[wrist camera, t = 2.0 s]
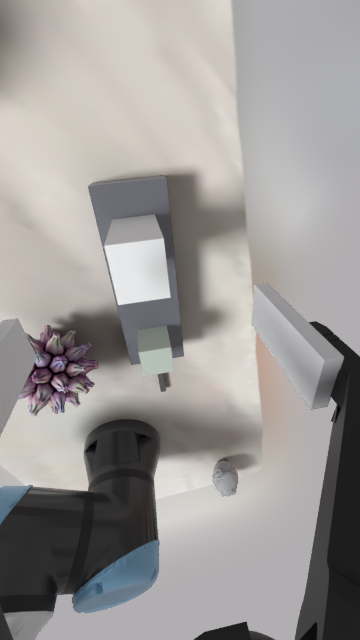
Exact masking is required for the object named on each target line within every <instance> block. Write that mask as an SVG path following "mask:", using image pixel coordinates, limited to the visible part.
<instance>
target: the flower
mask: <svg viewBox="0 0 360 640" xmlns="http://www.w3.org/2000/svg"><path fill="white" fill-rule="evenodd" d="M75 333H76V331H75V330H71V331H70V332H69V331H68V332H67V334H66V335H65V336H63V337H61V338H60V334H59V333H57V332H56V333H53V332H52V331H51V328H50V326H49V325H47V326H45V331H44V333H42V334H40V337H41V338H40V341H39V340H36V339H34V338H32V337H31V336H30V335H29V334H26V333H25V334H26V336H27V338H28V340H29V342H30V344H31V346H32V348H33V350H34V352H35V354H36V356H37V359H36V361H35V363H34V366H33V368H32V370H31V372H30V374H29V376H28V378H27V380H26V383H25V385H24V387H23V389H22V391H21V393H20V395H19V397H18V399H21V398H26V397H28V396H29V395H30V397H29V406H28V409H30V412H29V415H33V416H36V415H37V413H38V411H39V410H41V409H42V408H43V407H44V406H46V405H47V404H49V406H50V407H51V408H52V410H53V414H55V413H56V414H58V410H59V412H60V413H61V412H64V404H65V401H67V402H70V403H72V404H73V405H74V406H75V407H77V406H78V405H80V402H79V400H78V393H80V392H82V393H85V394H87V393H88V392H89V390H90V389H89V388H88V387H87V386H89V387H93V385H94V383H93V382H91V381H90V380H89V379H88V377H87V376H86V374H87V373H88V372H90V371H91V370H93V369H96V368H98V365H97V364H98V363H96V361H95V360H87V359H85V358H82V357H84V356H85V354H86V353H87V351H88V349H89V348H90V347H91V346H92V344H91V343H88V344H82V345H79V346H75V347H74V343H75V341H74V336H75Z"/></svg>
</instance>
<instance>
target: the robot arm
mask: <svg viewBox="0 0 360 640" xmlns="http://www.w3.org/2000/svg"><path fill="white" fill-rule="evenodd" d="M252 326H253V327H254V329H255V330H256V332H257V333H258V334H259V336H260V337H261V339H262V340H263V342H264V343H265V344H266V346H267V347H268V349H269V350H270V352H271V353H272V355H273V356H274V357H275V359H276V360H277V362H278V363H279V365H280V366H281V368H282V369H283V371H284V372H285V374H286V375H287V376H288V378H289V379H290V381H291V382H292V383H293V385H294V386H295V388H296V389H297V391H298V392H299V394H300V395H301V397H302V398H303V399H304V401H305V402H306V404H307V405H308V407H309V408H310V410H312V409H318V408H323V407H327V406H328V404H329V401H330V398H331V397H332V398H333V400H334V401H335V402H336V403H337V406H336V409H335V411H334V414H333V417H332V420H331V421H332V422H333V427H332V432H331V439H330V445H329V451H328V457H327V463H326V469H325V475H324V481H323V487H322V494H321V499H320V506H319V512H318V518H317V525H316V530H315V537H314V543H313V549H312V554H311V560H310V567H309V573H308V579H307V585H306V591H305V596H304V600H303V603H302V607H301V610H300V615H299V619H298V624H297V630H296V636H295V640H360V357H359V356H358V355H357V354H356V353H355V352H354V351H353V350H352V349H351V348H350V347H348V346H347V345H346V344H345V343H344V342H343V341H342V340H340V338H338V337H337V336H336V335H334V333H333V332H332V331H331V330H330V329H328V328H327V327H326V326H324V325H322V324H320V323H318V322H316V321H315V322H307V320H305V319H304V318H303V317H302V316H301V315H300V314H299V313H298V312H297V311H296V310H295V309H294V308H293V307H292V306H291V305H290V304H289V303H288V302H287V301H286V300H285V299H284V298H283V297H282V296H281V295H280V294H279V293H278V292H277V291H275V290H274V289H273V288H272V287H271V286H270V285H269V284H268V283H262V284H256V285H255V287H254V300H253V313H252ZM36 359H37V356H36V354H35V352H34V350H33V348H32V346H31V344H30V342H29V340H28V338H27V336H26V334H25V332H24V330H23V328H22V326H21V324H20V322H19V320H18V318H17V319H10V320H3V321H2V322H1V324H0V436H1V434H2V432H3V429H4V427H5V425H6V423H7V421H8V419H9V417H10V415H11V412H12V410H13V408H14V406H15V404H16V402H17V400H18V397H19V395H20V393H21V391H22V389H23V387H24V385H25V383H26V380H27V378H28V376H29V374H30V372H31V370H32V368H33V366H34V363H35V361H36ZM159 454H160V439H159V435H158V433H157V431H156V430H155V429H154V428H153V427H151V426H150V425H148V424H146V423H143V422H140V421H134V420H119V421H113V422H109V423H106V424H104V425H101V426H99V427H98V428H96V429H95V430H93V431H92V432H91V433H90V434H89V436H88V437H87V439H86V442H85V448H84V461H85V466H86V471H87V476H88V481H89V488H88V491H77V490H65V489H53V488H41V487H33V485H28V486H4V487H1V488H0V640H35V638H36V637H37V635H38V633H39V632H40V631H41V630H42V628H43V627H44V626H45V625H46V624H47V622H48V621H49V620H50V619H51V618H52V616H53V612H54V608H55V603H56V597H57V595H62V594H73V595H74V596H73V597H72V603H73V608H74V610H75V611H76V612H78V613H81V612H84V613H90V612H96V611H100V610H104V609H108V608H111V607H114V606H117V605H119V604H122V603H125V602H127V601H129V600H131V599H134V598H136V597H137V596H139V595H141V594H142V593H144V592H145V591H147V590H148V589H149V588H150V587H151V586H152V585H153V583H154V582H155V580H156V579H157V576H158V572H159V540H158V531H157V530H158V529H157V517H156V502H155V489H154V475H155V471H156V467H157V463H158V458H159ZM194 640H274V639H273V638H271V637H269V636H267V635H264V634H261V633H258V632H254V631H249V630H248V626H247V622H243V623H239V624H235V625H231V626H227V627H223V628H219V629H215V630H211V631H207V632H204V633H203V634H201V635H200V636H198V637H197V638H195V639H194Z"/></svg>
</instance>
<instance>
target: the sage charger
mask: <svg viewBox="0 0 360 640" xmlns="http://www.w3.org/2000/svg"><path fill="white" fill-rule="evenodd" d="M138 351H139V357H140V362H141V366H142V371H143V376H149V375H155V374H161V373H167V372H173V371H174V367H173V359H172V351H171V345H170V340H169V335H168V330H167V325H166V326H160V327H153V328H147V329H140V330H138Z"/></svg>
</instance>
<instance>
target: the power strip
mask: <svg viewBox="0 0 360 640" xmlns="http://www.w3.org/2000/svg"><path fill="white" fill-rule="evenodd" d="M88 189H89V193H90V197H91V201H92V205H93V209H94V213H95V217H96V222H97V226H98V230H99V234H100V238H101V242H102V246H103V251H104V255H105V259H106V263H107V267H108V271H109V275H110V279H111V284H112V288H113V292H114V296H115V300H116V304H117V308H118V313H119V317H120V321H121V325H122V329H123V333H124V337H125V341H126V346H127V350H128V354H129V358H130V362H131V365H134V364H140V363H141V362H140V357H139V351H138V330H140V329H147V328H153V327H160V326H166V325H167V330H168V335H169V340H170V345H171V351H172V358H176V357H182V356H184V352H183V341H182V331H181V321H180V310H179V300H178V290H177V280H176V269H175V259H174V249H173V238H172V228H171V218H170V208H169V197H168V187H167V178H166V177H165V176H163V175H162V176H152V177H143V178H133V179H124V180H114V181H105V182H95V183H92V184H90V185H89V186H88ZM154 214H155V217H156V219H157V222H158V225H159V227H160V230H161V232H162V235H163V238H164V245H165V253H166V262H167V271H168V280H169V288H170V297H171V298H164V299H157V300H150V301H144V302H137V303H130V304H123V305H118V302H117V298H116V294H115V290H114V285H113V281H112V277H111V273H110V269H109V264H108V260H107V256H106V252H105V248H104V244H105V241H106V238H107V235H108V232H109V229H110V225H111V222H112V219H120V218H129V217H137V216H146V215H154ZM158 378H159V383H160V389H161V392H163V391H166V388H165V382H164V375H163V373H161V374H158Z"/></svg>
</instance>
